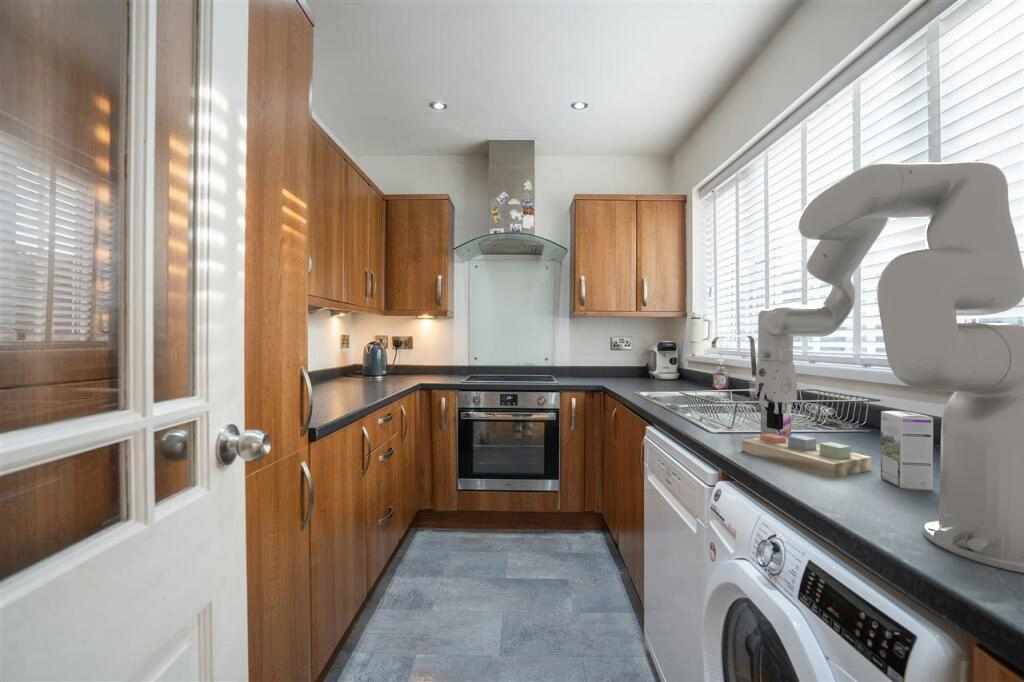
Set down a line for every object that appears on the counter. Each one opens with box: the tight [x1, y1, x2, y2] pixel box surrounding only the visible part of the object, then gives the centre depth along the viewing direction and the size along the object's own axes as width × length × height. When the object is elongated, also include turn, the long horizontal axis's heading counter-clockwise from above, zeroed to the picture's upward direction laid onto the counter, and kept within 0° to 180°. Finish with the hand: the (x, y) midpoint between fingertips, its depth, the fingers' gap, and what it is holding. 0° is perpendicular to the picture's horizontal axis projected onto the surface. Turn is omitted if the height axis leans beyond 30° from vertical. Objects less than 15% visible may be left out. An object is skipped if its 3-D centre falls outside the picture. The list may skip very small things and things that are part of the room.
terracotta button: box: [759, 434, 786, 444], centre depth 102 cm, size 4×4×3 cm
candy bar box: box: [760, 403, 792, 438], centre depth 115 cm, size 11×5×16 cm, turn 131°
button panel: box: [741, 437, 873, 479], centre depth 96 cm, size 14×21×3 cm, turn 23°
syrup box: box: [880, 410, 934, 491], centre depth 80 cm, size 6×6×14 cm
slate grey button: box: [788, 434, 817, 451], centre depth 96 cm, size 4×4×3 cm
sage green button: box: [819, 441, 852, 460], centre depth 89 cm, size 4×4×3 cm
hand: (774, 428), depth 102 cm, fingers closed
